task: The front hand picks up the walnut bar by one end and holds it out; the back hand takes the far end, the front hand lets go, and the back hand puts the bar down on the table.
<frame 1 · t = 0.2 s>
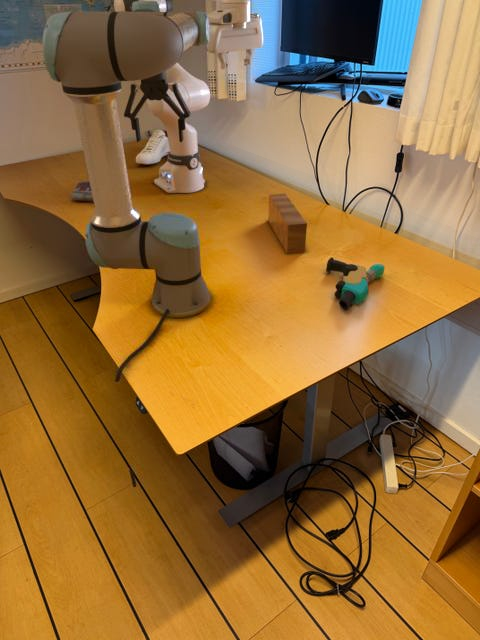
front hand: (160, 140, 150), 28 cm above the table, tool pointing down, fingers open, 13 cm apart
back hand: (236, 67, 149), 47 cm above the table, tool pointing down, fingers open, 8 cm apart
toy gun: (97, 197, 186), on the table
sneaker: (154, 159, 224), on the table
bar: (285, 235, 157), on the table
toy gun 2: (345, 288, 130), on the table
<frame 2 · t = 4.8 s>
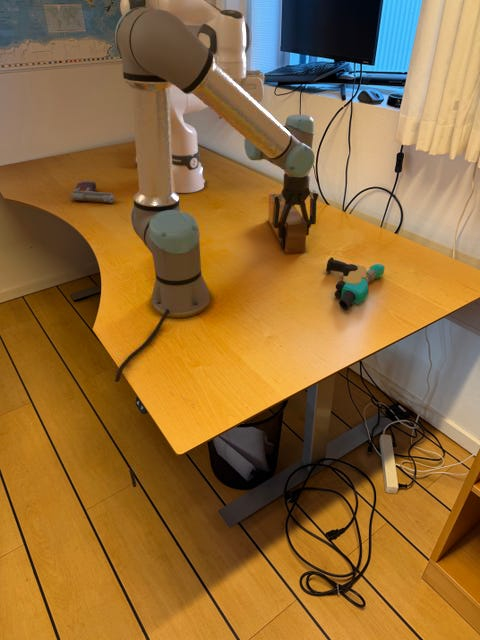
front hand: (292, 245, 150), 0 cm above the table, tool pointing down, fingers closed on bar, 6 cm apart
back hand: (233, 117, 159), 31 cm above the table, tool pointing down, fingers open, 8 cm apart
bar: (285, 235, 157), on the table, touching front hand
everything else where it was.
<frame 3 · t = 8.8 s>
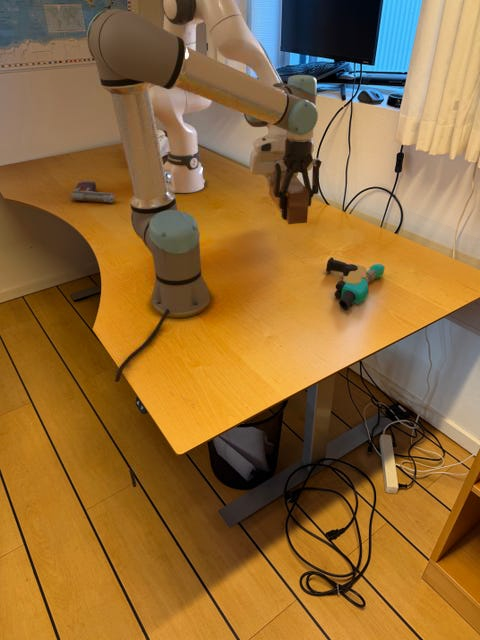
front hand: (294, 217, 144), 10 cm above the table, tool pointing down, fingers closed on bar, 6 cm apart
back hand: (280, 185, 156), 14 cm above the table, tool pointing down, fingers closed on bar, 6 cm apart
bar: (286, 207, 151), point 10 cm above the table, touching front hand, back hand
everything else where it was.
when the front hand's fingers open (10 cm above the table, at t = 9.9 s): bar stays where it is, held by the back hand.
when the back hand's fingers open (6 cm above the table, at t = 18.6 s): bar stays where it is, on the table.
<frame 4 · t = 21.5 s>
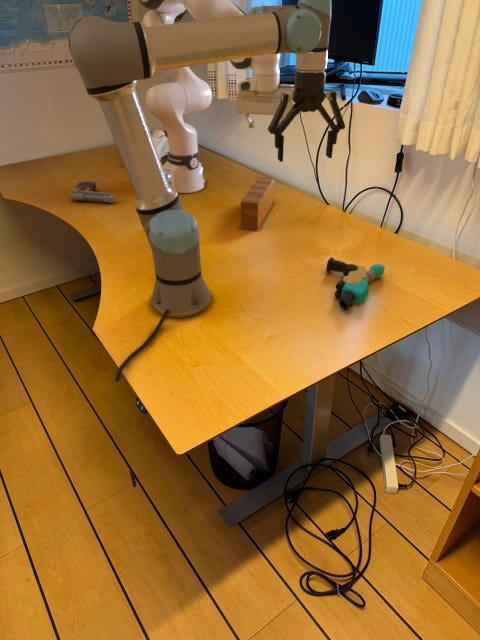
front hand: (304, 158, 128), 30 cm above the table, tool pointing down, fingers open, 13 cm apart
back hand: (264, 128, 161), 28 cm above the table, tool pointing down, fingers open, 8 cm apart
bar: (257, 214, 171), on the table
everything else where it was.
at the end: bar inside the target area (8.1 cm from its centre), on the table; the front hand is holding nothing; the back hand is holding nothing; bar at rest at the end (0.0 cm/s) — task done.
